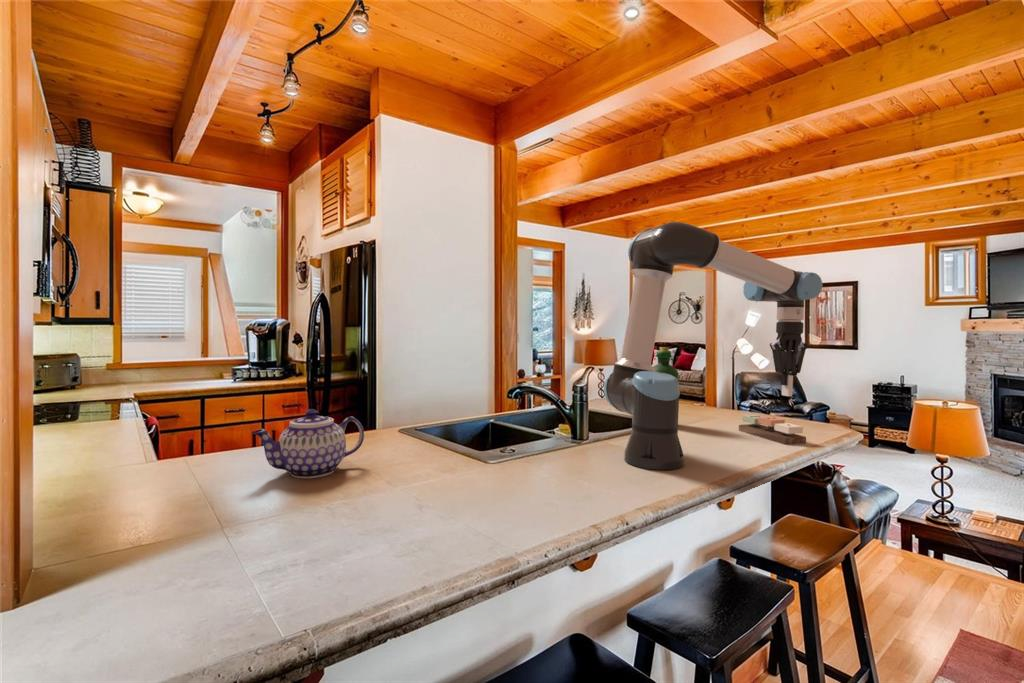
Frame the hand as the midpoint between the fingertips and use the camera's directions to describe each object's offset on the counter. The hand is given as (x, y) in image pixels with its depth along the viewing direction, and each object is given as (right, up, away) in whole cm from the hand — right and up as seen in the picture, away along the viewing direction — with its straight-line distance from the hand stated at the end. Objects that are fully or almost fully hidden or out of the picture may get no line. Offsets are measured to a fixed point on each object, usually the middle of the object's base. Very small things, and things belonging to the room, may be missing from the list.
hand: (786, 395), depth 158 cm
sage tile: (-4, -13, +13) cm, 18 cm away
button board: (-2, -14, +6) cm, 16 cm away
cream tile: (0, -13, -1) cm, 13 cm away
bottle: (-33, -13, +22) cm, 42 cm away
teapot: (-135, -14, -40) cm, 141 cm away
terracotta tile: (-2, -12, +6) cm, 14 cm away
